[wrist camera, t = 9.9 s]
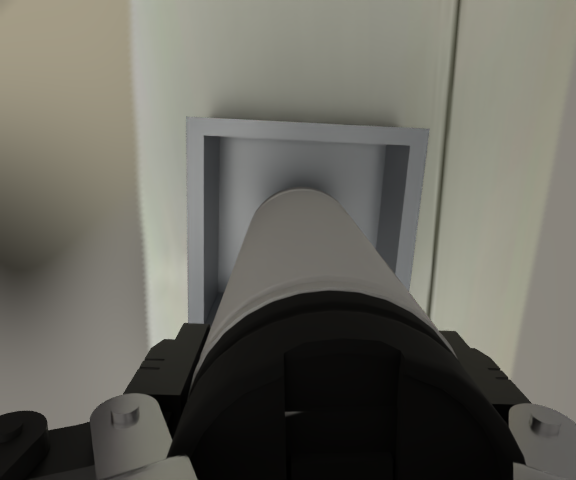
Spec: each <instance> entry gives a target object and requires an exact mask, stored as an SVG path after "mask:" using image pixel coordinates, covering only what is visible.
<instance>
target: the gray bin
mask: <svg viewBox="0 0 576 480" xmlns="http://www.w3.org/2000/svg"><path fill="white" fill-rule="evenodd" d="M428 137H429V129H424V128H404V127H384V126H364V125H345V124H325V123H305V122H285V121H265V120H245V119H226V118H206V117H186V150H187V254H188V323H200V324H210V327H211V326H212V324H213V321H214V318H215V316H216V313H217V310H218V308H219V305H220V302H221V300H222V297H223V294H224V292H225V289H226V286H227V284H228V281H229V278H230V276H231V273H232V270H233V268H234V265H235V262H236V260H237V257H238V254H239V252H240V249H241V246H242V244H243V241H244V238H245V236H246V233H247V230H248V227H249V225H250V222H251V220H252V218H253V216H254V214H255V212H256V210H257V209H258V208H259V206H260V205H261V204H262V203H263V202H264V201H265V200H266V199H267V198H269V197H270V196H271V195H273V194H275V193H277V192H279V191H281V190H284V189H287V188H292V187H311V188H315V189H318V190H321V191H323V192H325V193H327V194H329V195H331V196H332V197H333V198H334V199H336V200H337V201H338V202H339V203H340V204H341V206H342V207H343V208H344V209H345V210H346V212H347V213H348V214H349V216H350V217H351V218H352V219H353V221H354V222H355V223H356V225H357V226H358V227H359V228H360V230H361V231H362V232H363V234H364V235H365V236H366V237H367V239H368V240H369V241H370V243H371V244H372V245H373V246H374V248H375V249H376V250H377V252H378V253H379V254H380V255H381V257H382V258H383V259H384V261H385V262H386V263H387V264H388V266H389V267H390V268H391V270H392V271H393V272H394V273H395V275H396V276H397V277H398V279H399V280H400V281H401V282H402V284H403V285H404V286H405V288H406V289H407V290H408V291H409V288H410V281H411V273H412V265H413V257H414V249H415V241H416V233H417V225H418V217H419V209H420V201H421V193H422V185H423V177H424V169H425V161H426V153H427V145H428Z"/></svg>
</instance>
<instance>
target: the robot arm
mask: <svg viewBox="0 0 576 480" xmlns="http://www.w3.org/2000/svg"><path fill="white" fill-rule="evenodd" d="M210 329H211V327H210V324H200V323H184V324H183V326H182V327H181V329H180V331H179V333H178V335H177V337H176V339H175V340H172V339H164V340H162V341H161V342H159V343H158V344H156V345H155V346H154V347H152V348H151V349H150V351H149V353H148V354H147V356H146V357H145V361H143V362H142V364H141V366H140V368H139V369H138V370H137V372H136V374H135V375H134V377H133V379H132V380H131V382H130V383H129V385H128V387H127V388H126V390H125V392H124V393H123V395H119V396H116V397H113V398H111V399H109V400H106V401H105V402H103V403H101V404H100V405H99V406H98V407H97V408H96V409H95V410H94V411H93V412H92V414H91V416H90V422H87V423H84V424H79V425H76V426H70V427H64V428H59V429H53V430H48V425H47V420H46V418H45V417H44V415H42V414H41V413H38V412H34V411H17V412H12V413H7V414H4V415H1V416H0V480H198V479H197V477H196V474H195V472H194V470H193V467H192V465H191V462H190V460H189V458H188V456H187V454H186V453H182V454H179V455H176V456H173V457H170V458H166V457H167V454H168V451H169V449H170V446H171V443H172V440H173V437H174V435H175V432H176V429H177V426H178V424H179V421H180V418H181V415H182V413H183V410H184V407H185V405H186V403H187V398H188V394H189V390H190V386H191V382H192V378H193V375H194V372H195V369H196V366H197V364H198V362H199V360H200V356H201V353H202V350H203V348H204V345H205V342H206V340H207V337H208V334H209V332H210ZM439 332H440V333H441V334H442V335H443V337H444V338H445V339H446V340H447V342H448V343H449V344H450V346H451V347H452V349H453V351H454V353H455V355H456V357H457V359H458V360H459V362H460V364H461V365H462V367H463V368H464V369H465V370H466V371H467V373H468V374H469V375H470V376H471V377H472V379H473V380H474V381H475V383H476V384H477V385H478V387H479V388H480V389H481V391H482V392H483V393H484V395H485V396H486V397H487V399H488V400H489V401H490V403H491V404H492V405H493V406H494V408H495V409H496V410H497V412H498V413H499V414H500V416H501V417H502V418H503V420H504V421H505V422H506V423H507V425H508V427H509V428H510V430H511V432H512V434H513V436H514V438H515V440H516V442H517V444H518V446H519V448H520V450H521V452H522V454H523V455H524V459H525V462H526V465H524V464H521V463H518V462H515V461H511V464H510V467H509V471H508V475H507V478H506V480H576V423H575V422H574V421H572V420H571V419H570V418H568V417H567V416H565V415H563V414H562V413H560V412H558V411H556V410H553V409H551V408H548V407H545V406H541V405H537V404H532V403H531V402H530V401H529V400H528V399H527V398H526V396H525V395H524V394H523V393H522V392H521V391H520V390H519V389H518V388H517V387H516V385H515V384H514V383H513V382H512V381H511V380H508V377H507V376H506V374H505V373H504V372H503V371H500V368H499V367H498V366H497V365H496V363H495V362H494V361H493V360H492V359H491V358H490V357H488V356H487V355H485V354H483V353H482V352H480V351H478V350H477V349H475V348H470V347H469V346H468V345H467V344H466V343H465V341H464V340H463V339H462V338H461V337H460V336H459V334H458V333H457V332H455V331H439Z"/></svg>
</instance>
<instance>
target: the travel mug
mask: <svg viewBox="0 0 576 480" xmlns="http://www.w3.org/2000/svg"><path fill="white" fill-rule="evenodd" d="M182 453H186V454H187V456H188V458H189V460H190V462H191V465H192V467H193V470H194V472H195V474H196V477H197V479H198V480H506V478H507V475H508V471H509V467H510V464H511V461H515V462H518V463H521V464H524V465H526V462H525V459H524V455H523V454H522V452H521V450H520V448H519V446H518V444H517V442H516V440H515V438H514V436H513V434H512V432H511V430H510V428H509V427H508V425H507V423H506V422H505V421H504V420H503V418H502V417H501V416H500V414H499V413H498V412H497V410H496V409H495V408H494V406H493V405H492V404H491V403H490V401H489V400H488V399H487V397H486V396H485V395H484V393H483V392H482V391H481V389H480V388H479V387H478V385H477V384H476V383H475V381H474V380H473V379H472V377H471V376H470V375H469V374H468V373H467V371H466V370H465V369H464V368H463V367H462V365H461V364H460V362H459V360H458V359H457V357H456V355H455V353H454V351H453V349H452V347H451V346H450V344H449V343H448V342H447V340H446V339H445V338H444V337H443V335H442V334H441V333H440V332H439V331H438V329H437V327H436V326H435V325H434V324H433V322H432V321H431V320H430V318H429V317H428V316H427V315H426V313H425V312H424V311H423V309H422V308H421V307H420V306H419V304H418V303H417V302H416V300H415V299H414V298H413V297H412V295H411V294H410V293H409V291H408V290H407V289H406V288H405V286H404V285H403V284H402V282H401V281H400V280H399V279H398V277H397V276H396V275H395V273H394V272H393V271H392V270H391V268H390V267H389V266H388V264H387V263H386V262H385V261H384V259H383V258H382V257H381V255H380V254H379V253H378V252H377V250H376V249H375V248H374V246H373V245H372V244H371V243H370V241H369V240H368V239H367V237H366V236H365V235H364V234H363V232H362V231H361V230H360V228H359V227H358V226H357V225H356V223H355V222H354V221H353V219H352V218H351V217H350V216H349V214H348V213H347V212H346V210H345V209H344V208H343V207H342V206H341V204H340V203H339V202H338V201H337V200H336V199H334V198H333V197H332V196H331V195H329V194H327V193H325V192H323V191H321V190H318V189H315V188H311V187H292V188H287V189H284V190H281V191H279V192H277V193H275V194H273V195H271V196H270V197H269V198H267V199H266V200H265V201H264V202H263V203H262V204H261V205H260V206H259V208H258V209H257V210H256V212H255V214H254V216H253V218H252V220H251V222H250V225H249V227H248V230H247V233H246V236H245V238H244V241H243V244H242V246H241V249H240V252H239V254H238V257H237V260H236V262H235V265H234V268H233V270H232V273H231V276H230V278H229V281H228V284H227V286H226V289H225V292H224V294H223V297H222V300H221V302H220V305H219V308H218V310H217V313H216V316H215V318H214V321H213V324H212V326H211V329H210V332H209V334H208V337H207V340H206V342H205V345H204V348H203V350H202V353H201V356H200V360H199V362H198V364H197V366H196V369H195V372H194V375H193V378H192V382H191V386H190V390H189V394H188V398H187V403H186V405H185V407H184V410H183V413H182V415H181V418H180V421H179V424H178V426H177V429H176V432H175V435H174V437H173V440H172V443H171V446H170V449H169V451H168V454H167V457H166V458H170V457H173V456H176V455H179V454H182Z"/></svg>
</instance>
